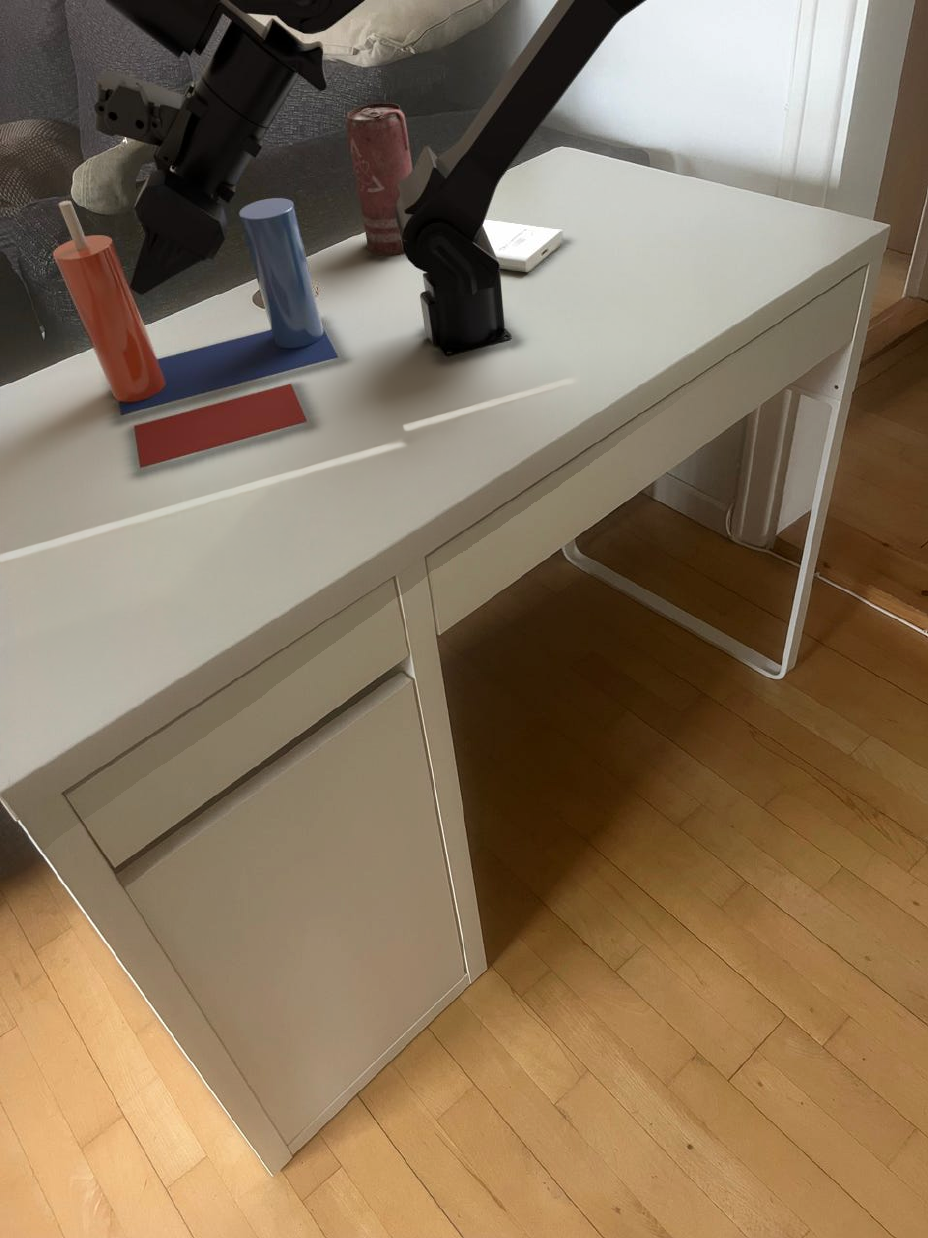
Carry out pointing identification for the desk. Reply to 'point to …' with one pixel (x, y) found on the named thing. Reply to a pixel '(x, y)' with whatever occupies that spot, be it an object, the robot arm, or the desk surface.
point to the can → (379, 170)
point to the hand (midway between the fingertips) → (142, 267)
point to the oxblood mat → (217, 424)
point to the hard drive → (521, 244)
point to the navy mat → (229, 366)
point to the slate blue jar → (282, 271)
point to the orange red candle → (108, 312)
